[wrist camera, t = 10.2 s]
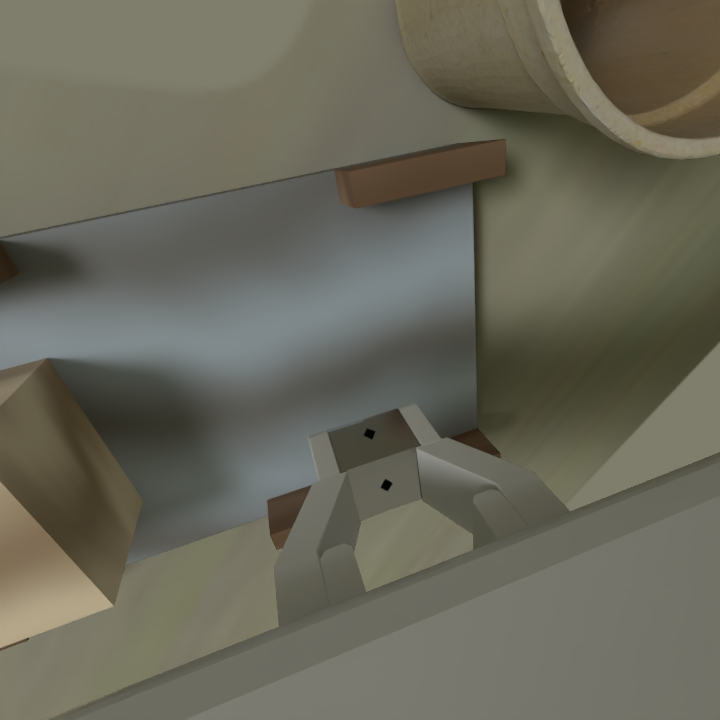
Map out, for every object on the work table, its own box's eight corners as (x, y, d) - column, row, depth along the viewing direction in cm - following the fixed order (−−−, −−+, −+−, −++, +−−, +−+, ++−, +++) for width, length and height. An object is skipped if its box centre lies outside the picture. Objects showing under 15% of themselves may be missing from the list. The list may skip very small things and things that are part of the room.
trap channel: (-349, 308, 10) (-541, 357, 8) (457, 143, 14) (506, 139, 12) (-15, 596, 17) (-58, 671, 15) (468, 431, 21) (500, 468, 19)
